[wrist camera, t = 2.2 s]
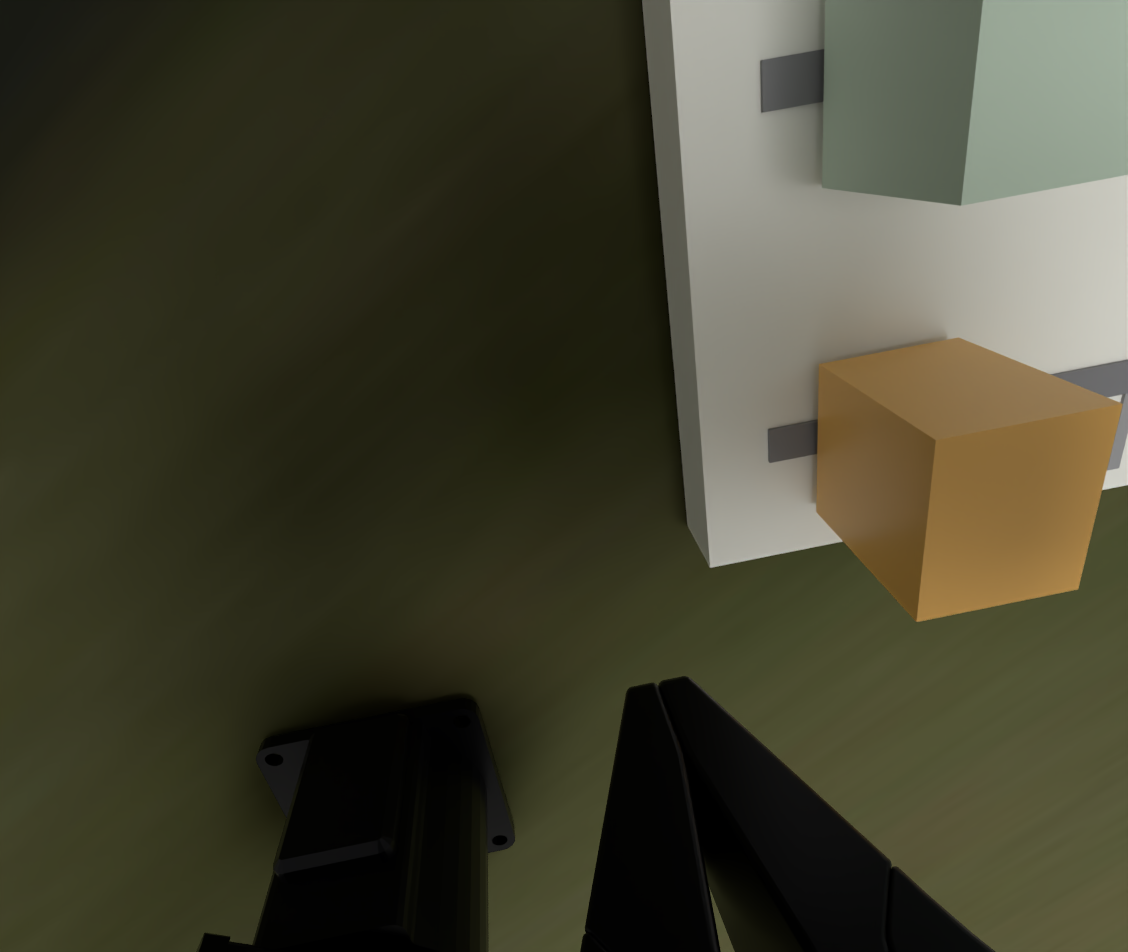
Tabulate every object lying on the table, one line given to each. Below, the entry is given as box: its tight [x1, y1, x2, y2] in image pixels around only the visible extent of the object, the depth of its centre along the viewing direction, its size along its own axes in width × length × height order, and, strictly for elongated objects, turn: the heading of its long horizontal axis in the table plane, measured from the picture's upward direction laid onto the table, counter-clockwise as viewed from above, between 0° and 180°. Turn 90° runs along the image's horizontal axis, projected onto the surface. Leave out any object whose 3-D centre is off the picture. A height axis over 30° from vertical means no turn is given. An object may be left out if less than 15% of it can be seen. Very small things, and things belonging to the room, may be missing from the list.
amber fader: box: [816, 337, 1123, 622], centre depth 13 cm, size 4×3×4 cm
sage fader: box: [822, 0, 1128, 206], centre depth 10 cm, size 4×3×4 cm
